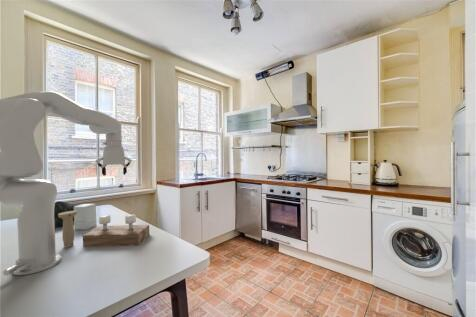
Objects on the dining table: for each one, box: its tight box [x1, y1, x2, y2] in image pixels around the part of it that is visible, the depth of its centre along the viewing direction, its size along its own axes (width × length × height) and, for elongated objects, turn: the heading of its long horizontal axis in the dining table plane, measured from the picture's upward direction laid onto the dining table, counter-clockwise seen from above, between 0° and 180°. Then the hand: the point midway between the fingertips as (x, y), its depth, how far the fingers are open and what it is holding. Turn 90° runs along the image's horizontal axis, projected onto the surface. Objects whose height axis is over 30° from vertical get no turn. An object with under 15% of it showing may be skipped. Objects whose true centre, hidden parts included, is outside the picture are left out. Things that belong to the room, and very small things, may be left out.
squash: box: [54, 200, 76, 228], centre depth 119 cm, size 14×15×15 cm
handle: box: [58, 211, 77, 248], centre depth 90 cm, size 5×6×15 cm
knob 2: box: [124, 213, 137, 231], centre depth 95 cm, size 4×4×8 cm
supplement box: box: [73, 203, 98, 231], centre depth 114 cm, size 7×7×13 cm
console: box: [82, 224, 150, 248], centre depth 95 cm, size 12×24×5 cm, turn 91°
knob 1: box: [98, 214, 111, 231], centre depth 95 cm, size 4×4×8 cm
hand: (114, 175), depth 113 cm, fingers open, 9 cm apart
